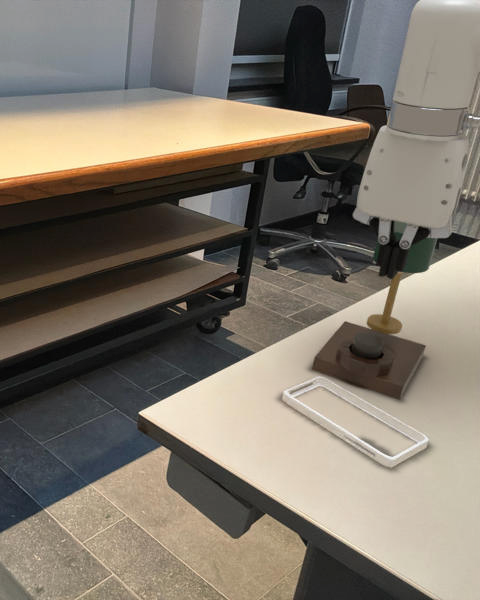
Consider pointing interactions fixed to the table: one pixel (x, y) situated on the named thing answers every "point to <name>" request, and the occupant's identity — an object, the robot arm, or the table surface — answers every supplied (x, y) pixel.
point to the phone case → (367, 408)
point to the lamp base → (370, 361)
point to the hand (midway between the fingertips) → (388, 273)
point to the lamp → (415, 263)
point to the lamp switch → (367, 346)
